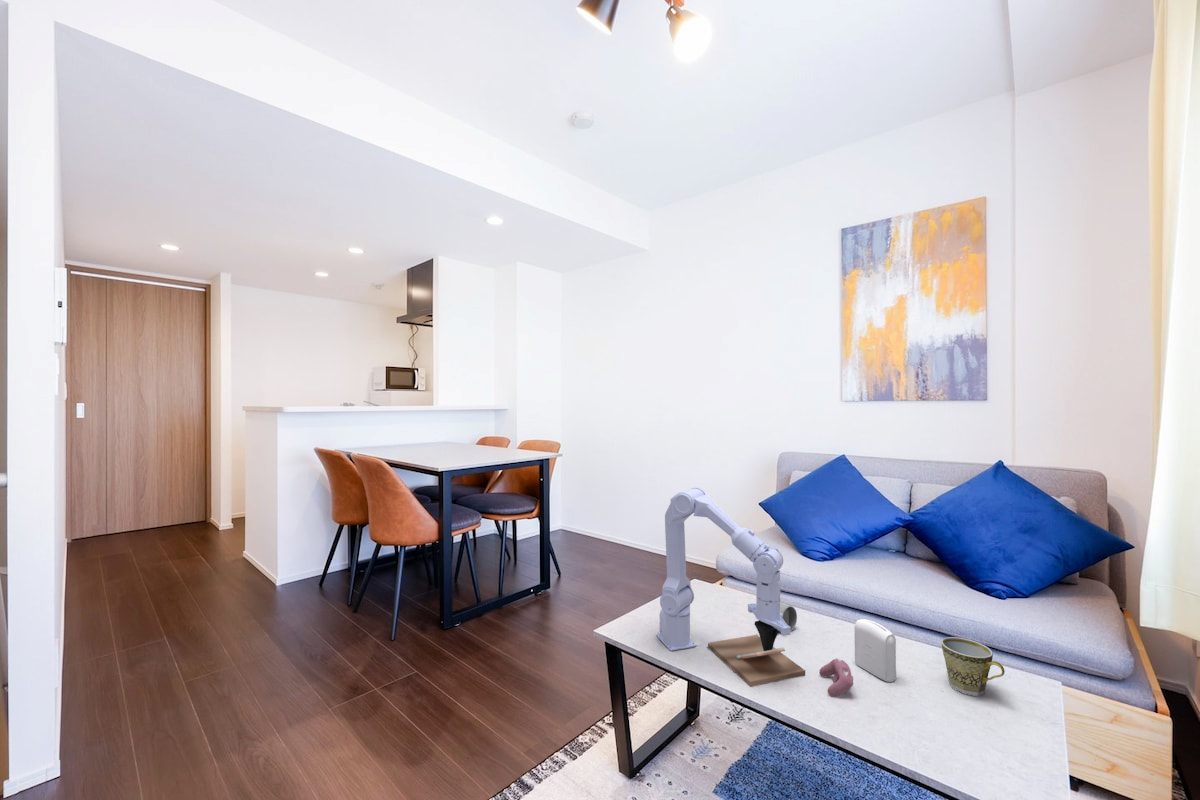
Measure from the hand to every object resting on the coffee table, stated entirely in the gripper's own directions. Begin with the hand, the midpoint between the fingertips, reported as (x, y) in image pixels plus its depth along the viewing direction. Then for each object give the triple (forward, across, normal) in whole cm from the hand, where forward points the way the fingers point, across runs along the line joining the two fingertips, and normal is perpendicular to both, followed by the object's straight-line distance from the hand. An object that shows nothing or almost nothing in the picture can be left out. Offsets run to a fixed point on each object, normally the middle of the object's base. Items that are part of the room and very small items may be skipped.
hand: (767, 651), depth 128 cm
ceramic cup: (+5, -22, -41) cm, 47 cm away
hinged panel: (+1, +3, 0) cm, 3 cm away
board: (+5, +6, 0) cm, 8 cm away
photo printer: (+6, -8, -26) cm, 28 cm away
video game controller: (+6, -10, -12) cm, 17 cm away
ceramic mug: (+6, +19, -18) cm, 27 cm away
